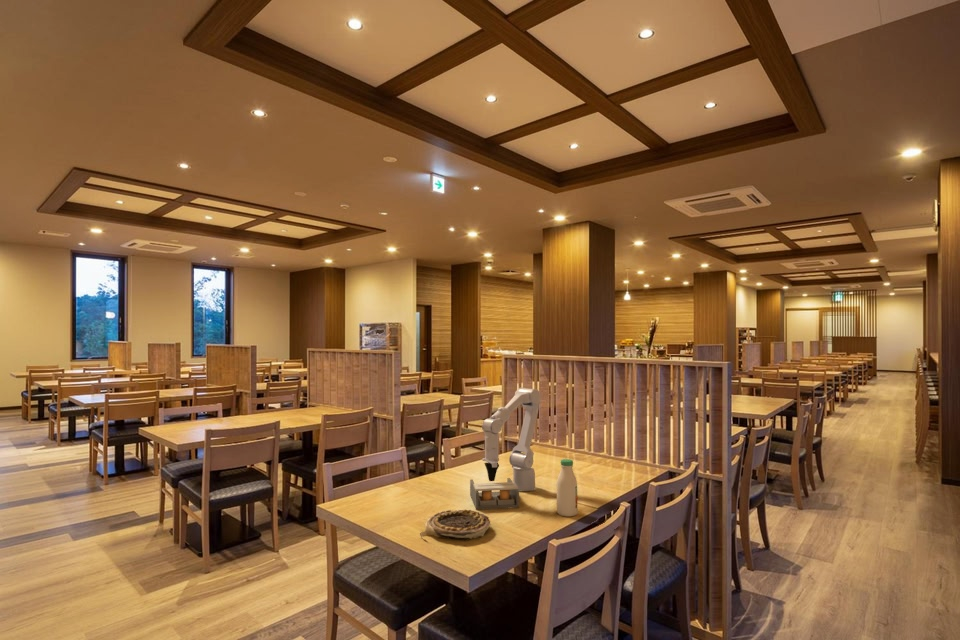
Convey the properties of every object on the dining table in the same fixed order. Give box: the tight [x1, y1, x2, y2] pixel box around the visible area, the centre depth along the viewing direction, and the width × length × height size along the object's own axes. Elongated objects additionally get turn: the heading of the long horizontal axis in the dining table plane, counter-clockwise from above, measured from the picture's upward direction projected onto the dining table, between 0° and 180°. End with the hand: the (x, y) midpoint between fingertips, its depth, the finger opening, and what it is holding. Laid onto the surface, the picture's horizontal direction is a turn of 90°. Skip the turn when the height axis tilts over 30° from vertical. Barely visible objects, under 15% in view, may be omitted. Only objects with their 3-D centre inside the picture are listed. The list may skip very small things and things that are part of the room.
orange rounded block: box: [499, 490, 510, 500], centre depth 199 cm, size 4×4×5 cm
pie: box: [419, 509, 491, 544], centre depth 172 cm, size 28×27×5 cm
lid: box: [473, 481, 518, 492], centre depth 199 cm, size 17×7×1 cm, turn 98°
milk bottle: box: [556, 458, 578, 517], centre depth 189 cm, size 8×8×20 cm
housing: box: [469, 477, 520, 511], centre depth 203 cm, size 17×18×7 cm
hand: (491, 480), depth 208 cm, fingers closed
